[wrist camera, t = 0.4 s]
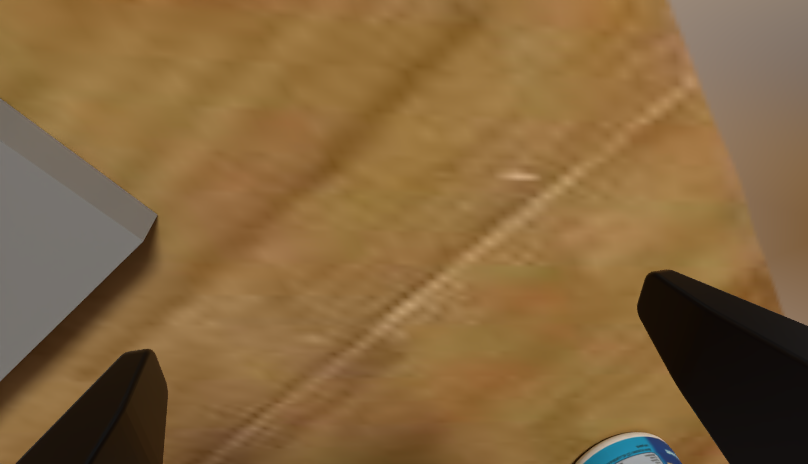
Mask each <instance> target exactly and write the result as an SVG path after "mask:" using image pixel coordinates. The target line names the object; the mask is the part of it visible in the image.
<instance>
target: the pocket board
mask: <svg viewBox="0 0 808 464" xmlns="http://www.w3.org/2000/svg"><path fill="white" fill-rule="evenodd" d="M156 217H157V214H156V213H155V212H153V211H152V210H150V209H149V208H148V207H146V206H145V205H144V204H142V203H141V202H140V201H138V200H137V199H136V198H134V197H133V196H132V195H130V194H129V193H127V192H126V191H125V190H123V189H122V188H121V187H119V186H118V185H117V184H115V183H114V182H113V181H111V180H110V179H109V178H107V177H106V176H105V175H103V174H102V173H100V172H99V171H98V170H96V169H95V168H94V167H92V166H91V165H90V164H88V163H87V162H86V161H84V160H83V159H82V158H80V157H79V156H77V155H76V154H75V153H73V152H72V151H71V150H69V149H68V148H67V147H65V146H64V145H63V144H61V143H60V142H59V141H57V140H56V139H55V138H53V137H52V136H50V135H49V134H48V133H46V132H45V131H44V130H42V129H41V128H40V127H38V126H37V125H36V124H34V123H33V122H32V121H30V120H29V119H27V118H26V117H25V116H23V115H22V114H21V113H19V112H18V111H17V110H15V109H14V108H13V107H11V106H10V105H9V104H7V103H6V102H5V101H3V100H2V99H0V381H1V380H2V379H3V378H4V377H5V376H6V375H7V374H8V373H9V372H10V371H11V370H12V369H13V368H14V367H15V366H16V365H17V364H18V363H19V362H20V361H21V360H22V359H23V358H24V357H25V356H27V355H28V354H29V353H30V352H31V351H32V350H33V349H34V348H35V347H36V346H37V345H38V344H39V343H40V342H41V341H42V340H43V339H44V338H45V337H46V336H47V335H48V334H49V333H50V332H51V331H52V330H53V329H54V328H55V327H56V326H57V325H58V324H59V323H60V322H61V321H62V320H63V319H64V318H65V317H66V316H67V315H68V314H69V313H70V312H71V311H72V310H74V309H75V308H76V307H77V306H78V305H79V304H80V303H81V302H82V301H83V300H84V299H85V298H86V297H87V296H88V295H89V294H90V293H91V292H92V291H93V290H94V289H95V288H96V287H97V286H98V285H99V284H100V283H101V282H102V281H103V280H104V279H105V278H106V277H107V276H108V275H109V274H110V273H111V272H112V271H113V270H114V269H115V268H116V267H117V266H118V265H119V264H120V263H122V262H123V261H124V260H125V259H126V258H127V257H128V256H129V255H130V254H131V253H132V252H133V251H134V250H135V249H136V248H137V247H138V246H139V245H140V244H141V243H142V242H143V241H144V239H145V237H146V235H147V234H148V232H149V230H150V228H151V226H152V224H153V222H154V221H155V219H156Z"/></svg>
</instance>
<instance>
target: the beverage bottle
mask: <svg viewBox="0 0 808 464" xmlns="http://www.w3.org/2000/svg"><path fill="white" fill-rule="evenodd" d="M575 464H682V463H681V462H680V460H679V459H678V457H677V456H676V454H675V453H674V452H673V451H672V449H671V448H670V447H669V446H668V445H667V443H666V442H664V441H663V440H662V439H661V438H659V437H657V436H655V435H652V434H649V433H643V432H631V433H624V434H620V435H617V436H614V437H611V438H609V439H606V440H604V441H602V442H600V443H599V444H597V445H595V446H594V447H592V448H591V449H590V450H588V451H587V452H586V453H585V454H584V455H583V456H582V457H581V458H580V459H579V460H578V461H577V462H576V463H575Z"/></svg>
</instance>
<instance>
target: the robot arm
mask: <svg viewBox="0 0 808 464" xmlns="http://www.w3.org/2000/svg"><path fill="white" fill-rule="evenodd" d="M637 311H638V315H639V317H640V320H641V321H642V323H643V325H644V327H645V329H646V331H647V332H648V334H649V336H650V338H651V340H652V342H653V343H654V345H655V347H656V349H657V351H658V353H659V355H660V356H661V358H662V360H663V362H664V364H665V366H666V367H667V369H668V371H669V373H670V375H671V376H672V378H673V380H674V382H675V383H676V385H677V387H678V388H679V390H680V391H681V393H682V394H683V396H684V397H685V399H686V400H687V402H688V403H689V405H690V406H691V408H692V409H693V411H694V412H695V414H696V415H697V417H698V418H699V419H700V421H701V422H702V424H703V425H704V427H705V428H706V430H707V431H708V433H709V434H710V436H711V437H712V439H713V440H714V442H715V443H716V445H717V446H718V448H719V449H720V450H721V452H722V453H723V455H724V456H725V458H726V459H727V461H728V462H729V464H808V326H807V325H804V324H802V323H799V322H797V321H794V320H792V319H790V318H787V317H785V316H782V315H780V314H777V313H775V312H773V311H770V310H768V309H765V308H763V307H760V306H758V305H756V304H753V303H751V302H748V301H746V300H743V299H741V298H739V297H736V296H734V295H731V294H729V293H726V292H724V291H722V290H719V289H717V288H714V287H712V286H709V285H707V284H705V283H702V282H700V281H697V280H695V279H692V278H690V277H688V276H685V275H683V274H680V273H678V272H675V271H673V270H660V271H654V272H650V273H649V274H648V275H647V276H646V278H645V280H644V284H643V287H642V290H641V294H640V297H639V300H638V304H637ZM167 400H168V389H167V384H166V380H165V378H164V375H163V373H162V370H161V367H160V365H159V362H158V360H157V357H156V355H155V353H154V352H153V350H151V349H143V350H136V351H130V352H126V353H124V354H123V355H121V356H120V357H119V358H118V359H117V360H116V361H115V362H114V363H113V364H112V365H111V366H110V367H109V368H108V370H107V371H106V372H105V373H104V374H103V375H102V376H101V377H100V378H99V379H98V380H97V381H96V382H95V383H94V384H93V385H92V386H91V387H90V388H89V389H88V390H87V391H86V392H85V393H84V394H83V395H82V396H81V397H80V398H79V399H78V400H77V401H76V402H75V403H74V404H73V405H72V406H71V407H70V408H69V409H68V410H67V411H66V412H65V413H64V415H63V416H62V417H61V418H60V419H59V420H58V421H57V422H56V423H55V424H54V425H53V426H52V427H51V428H50V429H49V430H48V431H47V432H46V433H45V434H44V435H43V436H42V437H41V438H40V439H39V440H38V441H37V442H36V443H35V444H34V445H33V446H32V447H31V448H30V449H29V450H28V451H27V452H26V453H25V454H24V455H23V456H22V457H21V459H20V460H19V461H18V462H17V463H16V464H163V452H164V439H165V426H166V413H167Z"/></svg>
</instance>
